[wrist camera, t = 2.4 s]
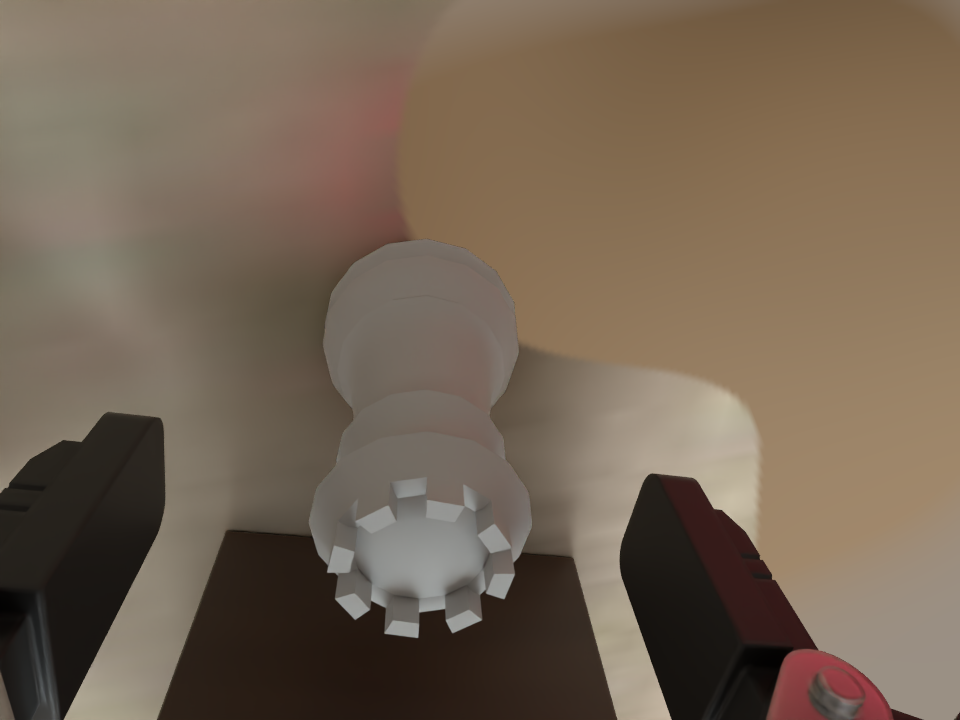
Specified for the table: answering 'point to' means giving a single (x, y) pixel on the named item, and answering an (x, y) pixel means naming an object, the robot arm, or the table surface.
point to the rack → (380, 648)
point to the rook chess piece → (420, 437)
